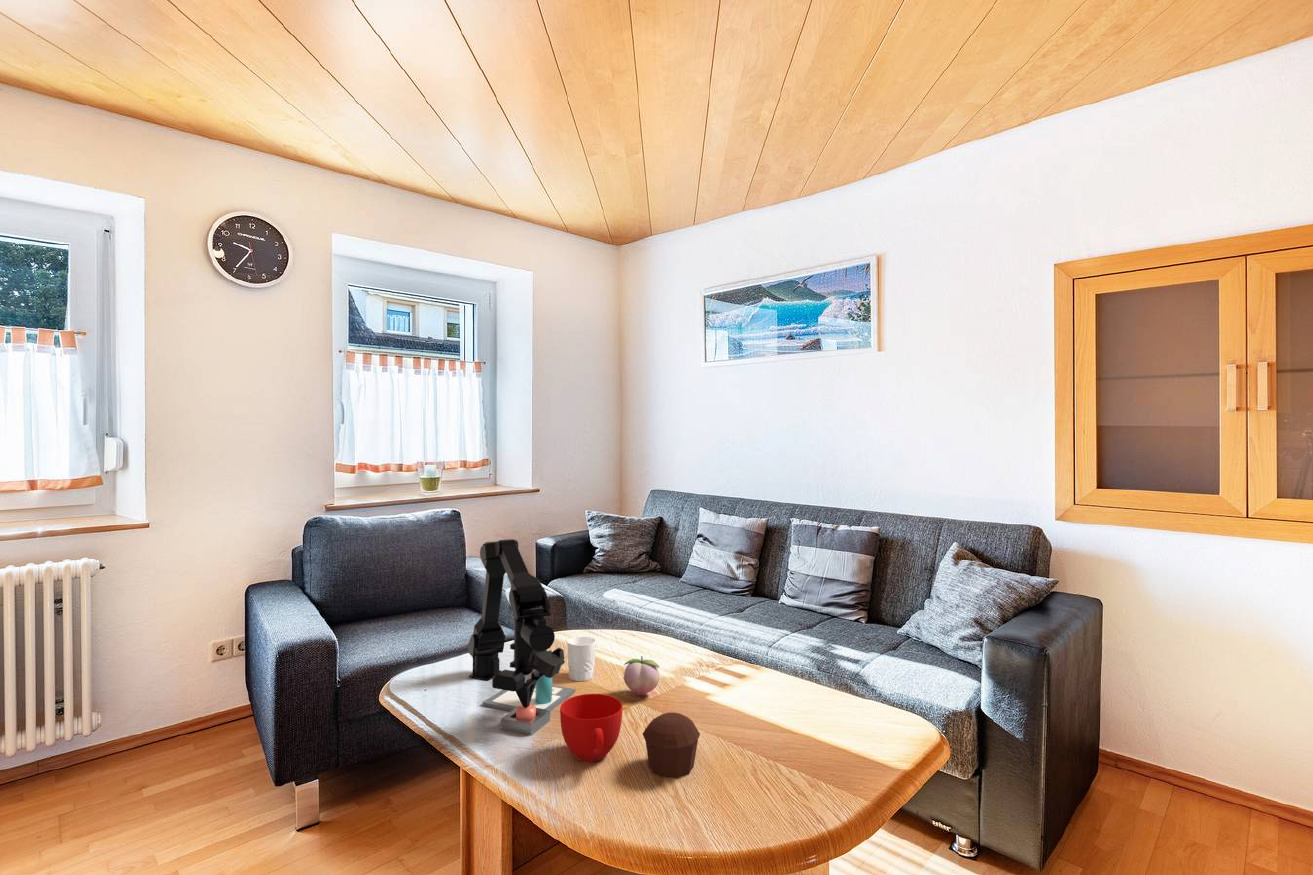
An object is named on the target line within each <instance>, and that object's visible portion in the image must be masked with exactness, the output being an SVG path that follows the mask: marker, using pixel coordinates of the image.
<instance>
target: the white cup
mask: <svg viewBox="0 0 1313 875" xmlns="http://www.w3.org/2000/svg"><path fill="white" fill-rule="evenodd" d="M566 646H567V648H566V649H567V666H568V678H569V679H570V680H572V681H575V682H586V681H589V680H592V679H594V673H595V665H596V664H595V663H596V650H597V649H596V647H597V639H596V638H594V637H591V636H584V635H583V636H574V637H571V638H569V639H567V641H566Z"/></svg>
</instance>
